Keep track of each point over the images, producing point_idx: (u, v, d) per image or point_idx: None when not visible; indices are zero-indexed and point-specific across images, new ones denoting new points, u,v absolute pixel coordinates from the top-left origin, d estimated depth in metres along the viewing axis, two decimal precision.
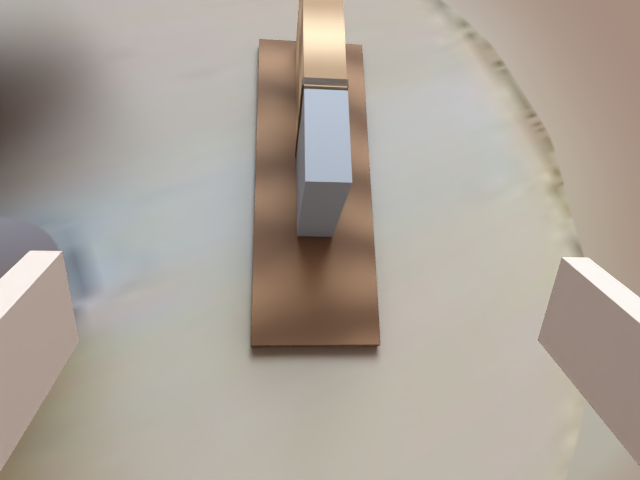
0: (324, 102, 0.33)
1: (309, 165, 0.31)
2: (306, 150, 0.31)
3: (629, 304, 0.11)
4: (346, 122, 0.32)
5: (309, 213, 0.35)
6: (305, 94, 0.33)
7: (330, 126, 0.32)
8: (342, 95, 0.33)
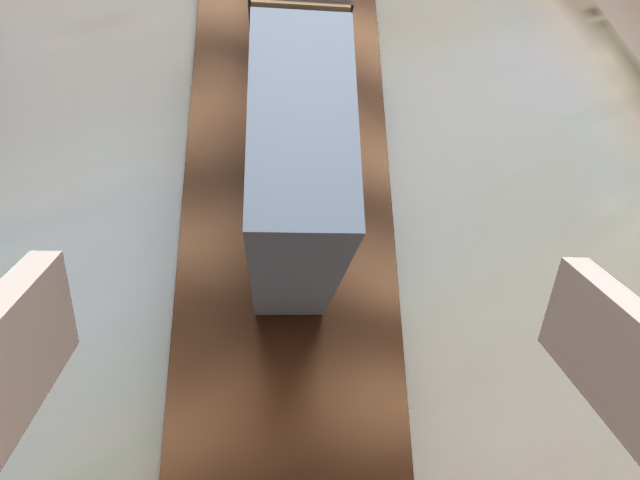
0: (296, 37, 0.14)
1: (255, 189, 0.12)
2: (249, 151, 0.12)
3: (629, 304, 0.11)
4: (349, 83, 0.13)
5: (271, 286, 0.17)
6: (252, 19, 0.14)
7: (310, 92, 0.13)
8: (338, 23, 0.14)
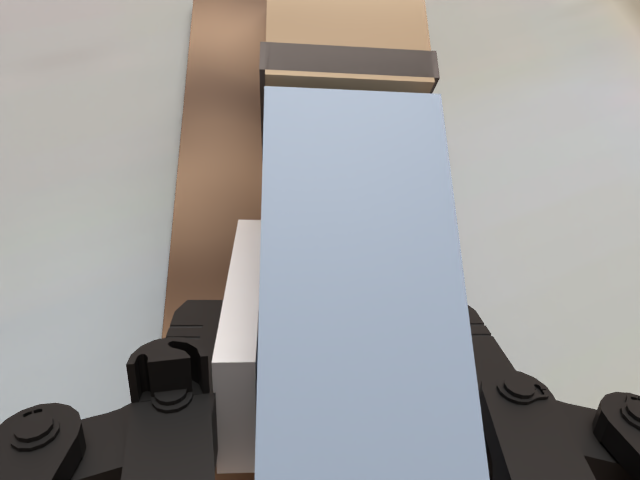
0: (346, 144, 0.08)
1: (277, 479, 0.06)
2: (264, 388, 0.06)
3: None
4: (445, 232, 0.07)
5: None
6: (268, 110, 0.08)
7: (376, 253, 0.07)
8: (418, 113, 0.08)
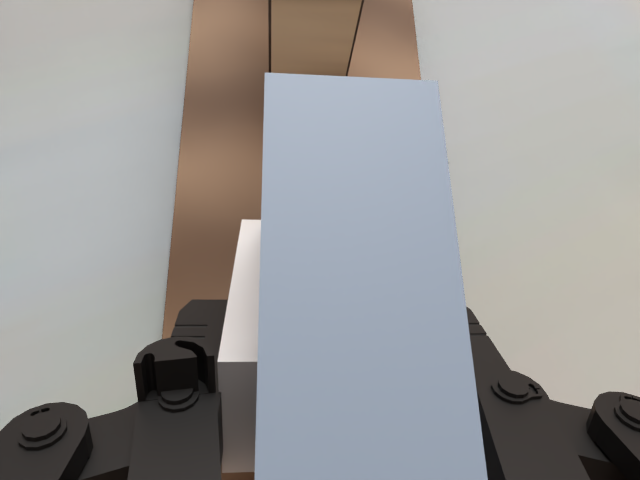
0: (345, 130, 0.08)
1: (277, 450, 0.06)
2: (264, 363, 0.07)
3: None
4: (442, 214, 0.08)
5: None
6: (268, 95, 0.08)
7: (374, 234, 0.07)
8: (415, 99, 0.08)
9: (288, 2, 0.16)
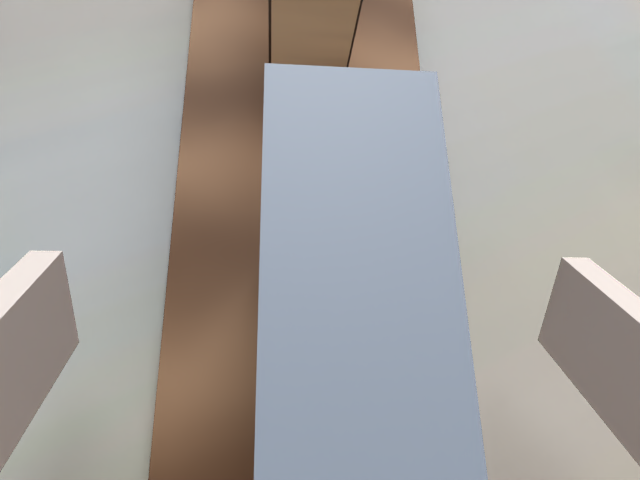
0: (344, 119, 0.08)
1: (276, 435, 0.06)
2: (264, 349, 0.07)
3: (629, 304, 0.11)
4: (440, 204, 0.08)
5: None
6: (268, 86, 0.08)
7: (373, 223, 0.07)
8: (414, 90, 0.08)
9: None
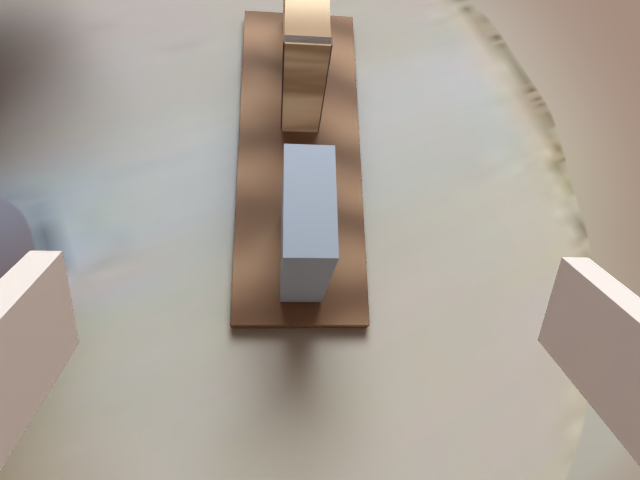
0: (307, 160, 0.28)
1: (288, 237, 0.26)
2: (285, 219, 0.27)
3: (629, 304, 0.11)
4: (332, 184, 0.28)
5: (292, 283, 0.31)
6: (285, 150, 0.28)
7: (313, 189, 0.27)
8: (327, 151, 0.28)
9: (290, 97, 0.36)
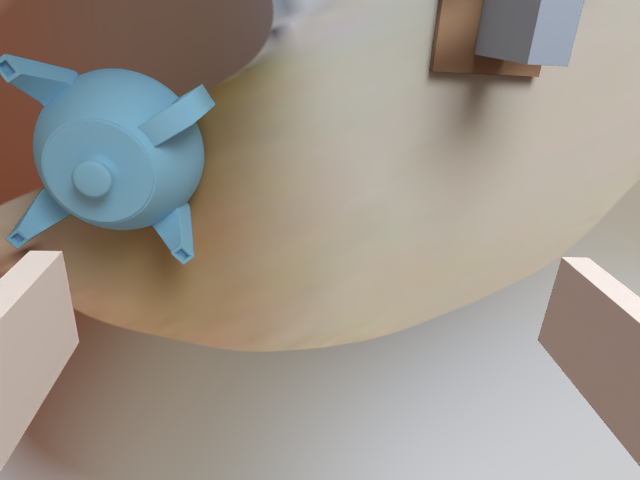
0: None
1: (534, 47, 0.33)
2: (536, 30, 0.33)
3: (629, 304, 0.11)
4: None
5: None
6: None
7: (565, 0, 0.32)
8: None
9: None
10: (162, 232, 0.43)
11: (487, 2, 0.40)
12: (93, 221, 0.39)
